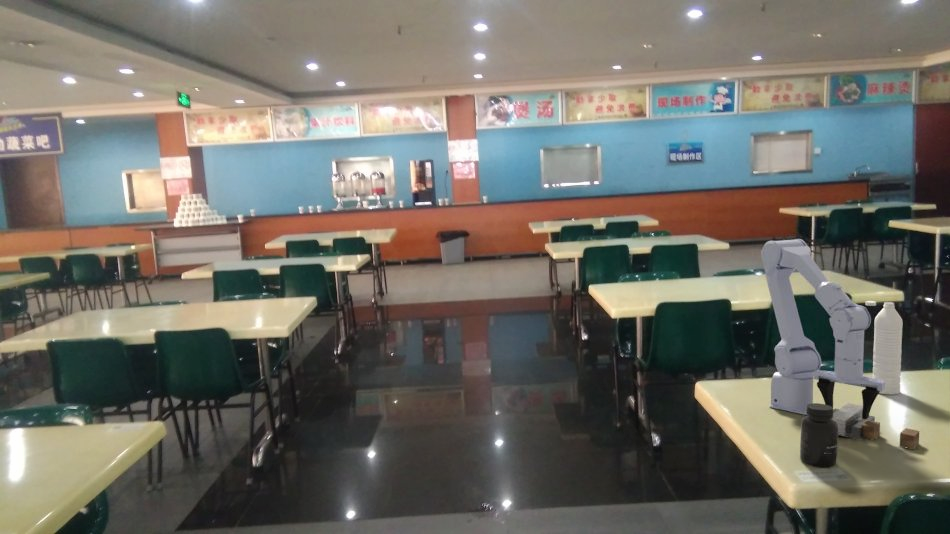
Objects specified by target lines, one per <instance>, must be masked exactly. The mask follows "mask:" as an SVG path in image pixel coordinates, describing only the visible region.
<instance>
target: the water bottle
mask: <svg viewBox="0 0 950 534" xmlns="http://www.w3.org/2000/svg"><path fill="white" fill-rule="evenodd" d="M864 303H865V306H870V307H871V306H872V307H873V306H874V307H875V306H877V301H873V300H867V301H865V302H864ZM882 306H883V308H882V309H881V310H880V311H879V312H878V313H877V315H876V316H875V317H874V322H873V323H874V327H873V332H874V334H873V335H874V336H873V339H874V340H873V350H872V353H873V354H872V355H873V356H872V360H873V362H872V366H873V367H872V378H873V379H876V380H881V381H885V390H883V391H880V392H879V394H881V395H890V396H893V395H899V394H900V392H901V373H902V369H901V368H902V364H901V363H902V352H903V351H902V350H903V349H902V343H903V342H902V341H903V340H902V339H903V324H904V323H903V319H902V317H901V315H900V313H899V312H898V311H897V310H896V308H895V307H896V305H895V302H891V301H889V302H888V301H885V302H883V305H882Z"/></svg>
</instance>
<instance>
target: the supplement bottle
mask: <svg viewBox="0 0 950 534" xmlns="http://www.w3.org/2000/svg"><path fill="white" fill-rule="evenodd" d="M833 410H834V407H833V408H832V407H831V406H828V405H825V403H814V402H813V403H812V404H808V405H807V411H806V414H807V415H805V416H804V417H803V418H802V419H801V421H800V439H799V440H800V443H799V444H800V447H799V458H800V460H801V462H802V463H804V464H806V465H808V466H812V467H815V468H819V469H820V468H821V469H829V468H830V469H831V468H833V467H836V465H837V463H838V461H837V460H838V438H839V437H838V436H839V435H838V425H837V423H836V422H835V421H834V420H833V419H832V418H833Z"/></svg>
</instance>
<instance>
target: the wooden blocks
mask: <svg viewBox="0 0 950 534" xmlns="http://www.w3.org/2000/svg"><path fill="white" fill-rule="evenodd" d="M861 425H862V426H863V434H864V438H863V439H866V438H868V439H867V440H871V439H872V441H875V440H876V439H877V438H878V437H879V436H880V433H881V432H880V430H881V428H880V427H881V422H880V421H870V420H866V421H865V422H864V423H863V424H861ZM875 438H876V439H875ZM874 439H875V440H874ZM919 444H920V430H917V429H912V428H908V427H906V428H904V429H902V431H901V432H900V433H899V447H901V446H902V448H905V447H907V448H906V449H910V448H911V449H910V450H915V449H914V448H915V447H916V448H917V447H918V446H919Z"/></svg>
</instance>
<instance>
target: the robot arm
mask: <svg viewBox="0 0 950 534" xmlns="http://www.w3.org/2000/svg"><path fill="white" fill-rule="evenodd" d="M811 253H812V251H811V247H810V246H809V245H807V243H806V241H804V240H803V239H801V238H795V239H785V240H784V239H783V240H768V241H766V242H765V243H764V245H763V247H762V248H761V251H760V258H761V262H762V265H763V269H764V272H765V280H766V283H767V287H768V290H769V291H768V292H769V295H770V299H771V302H772V306H773V311H774V314H775V319H776V322H777V327H778V332H779V334H780V335H779V336H780V338H781V340H780V341H779V342H778V344H777V345H775V347H774V349H773V350H774V354H775V355H774V356H775V358H774V365H775V368H776V370H777V371H775V372H774V373H773V375H772V378H771V382H770V404H769V408H772V409H777V410H782V411H785V412H791V413H795V414H800V415H804V416H808V415H807V414H806V411H807V405H808V404H812V403H814V380H817V382H816V386H817V388H818V390H819V391H820V394H821V396H822V398H823V402H824V404H825V405H828V406H831V407H832V408H833V409H834V390H835V384H836V383H838V384H844V385H849V386H855V387H861V388H864V389H862V390H861V396H862V406H863V411H862V419H867V418H868V417H869V416H870V414H871V413H870V412H871V409H872V407H873V404H874V402H875V401H876V399H877V397H878V395H879V394H880V393H879V392H880V391H883V390H885V381H881V380H876V379H873V377H872V378H871V377H868V376H865V375H863V374H864V373H863V372H864V353H865V352H864V351H865V350H864V349H865V347H864V346H865V345H864V344H865V331H866V330H867V329H868V328H869V327H870V326H871V323H872V317H871V314H870V312H869V311H868V309H867V307H865V306H863V305H859V304H858V303H856V302H854V301H853V300H852V299H851V298H850V297H849V296H848V295H847V293H846V292H845V291H844V290H843V289H842V286H841V284H839V283H837V282H835V281H829V280H828V279H827V277H826V275H825V274H824V273H823V271H822V270H821V268H820V267H819V266H818V265H817V263H816V261H815V260H814V258H813V257H812V255H811ZM795 271H798V273H799V274H800V275H801V276H802V278H803V279H805V280H806V281H807V282H808V283H809V284H810V285H811V286H812V288H813V289H815V290H814V298H815V299H816V300H817V301H818V302H819V304H820V305H821V306H822V308H824V310H825V311H826V312H827V314H828V315H829V316H830V317H829V318H828V319H829V324H830V326H831V328H832V331H833V337H834V341H835V342H834V345H835V346H834V371H832V370H830V371H829V370H820V369H821V367H822V357H821V355H820V353H819V352H818V350H817V348H816V346H815V342H814V341H812V340H811V339H810V338H808V337H807V336H805V334H804V330H803V326H802V323H801V318H800V315H799V312H798V307H797V302H796V300H795V295H794V291H793V288H792V285H791V280H790V277H791V275H792V274H793V273H794V272H795ZM793 349H794V350H793Z"/></svg>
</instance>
